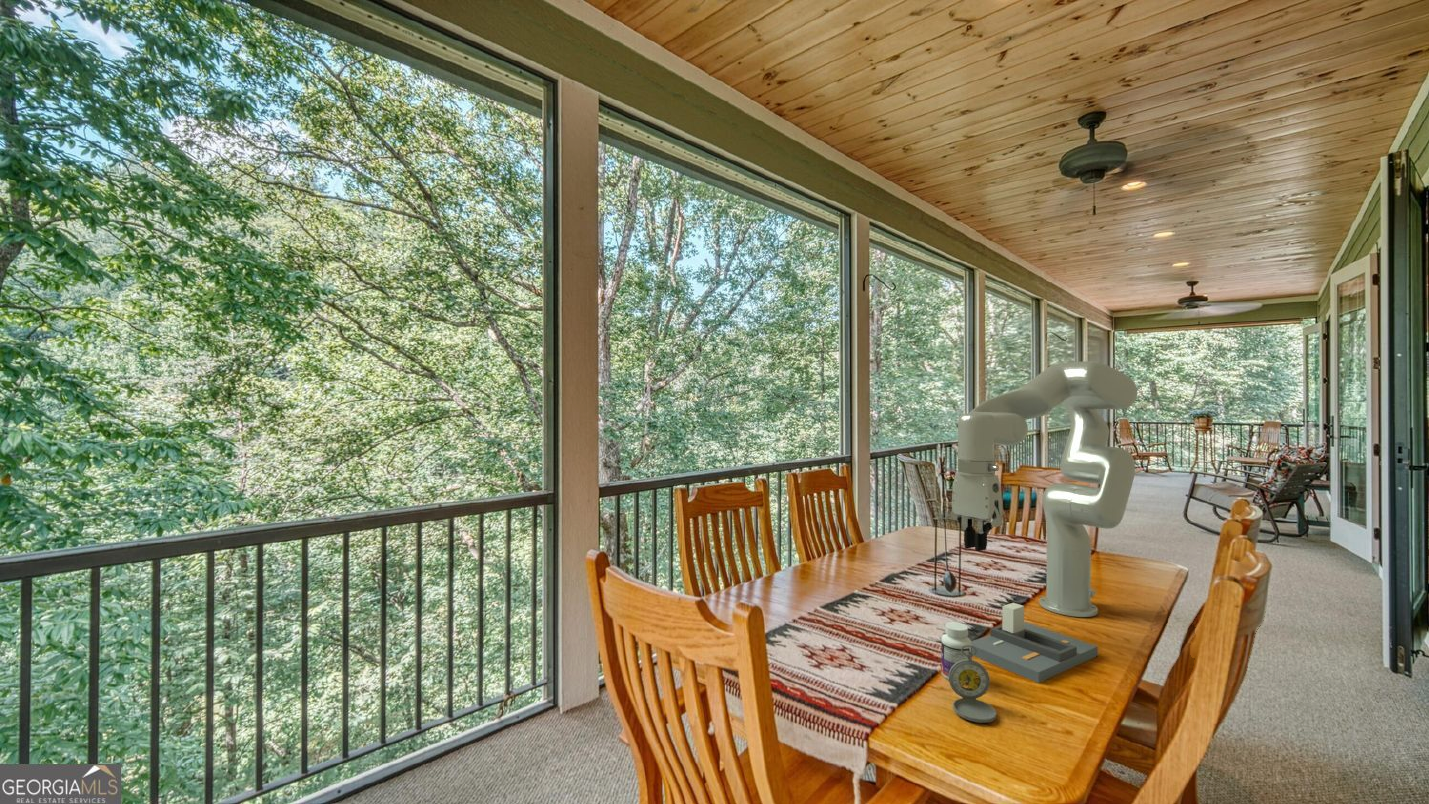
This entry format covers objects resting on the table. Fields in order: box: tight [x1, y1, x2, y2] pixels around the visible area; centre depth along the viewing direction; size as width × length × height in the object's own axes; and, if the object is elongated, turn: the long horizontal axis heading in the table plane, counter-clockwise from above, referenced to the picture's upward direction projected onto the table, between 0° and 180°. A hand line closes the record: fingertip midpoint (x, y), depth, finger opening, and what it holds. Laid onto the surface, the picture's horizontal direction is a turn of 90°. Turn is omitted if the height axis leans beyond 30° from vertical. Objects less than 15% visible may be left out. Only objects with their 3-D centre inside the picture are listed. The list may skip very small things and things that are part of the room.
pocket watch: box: [948, 645, 997, 724], centre depth 97 cm, size 8×8×10 cm
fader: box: [1001, 602, 1025, 638], centre depth 122 cm, size 4×3×7 cm
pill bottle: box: [940, 621, 973, 684], centre depth 109 cm, size 5×5×10 cm
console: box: [971, 621, 1099, 684], centre depth 119 cm, size 22×15×4 cm
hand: (975, 548), depth 130 cm, fingers closed
